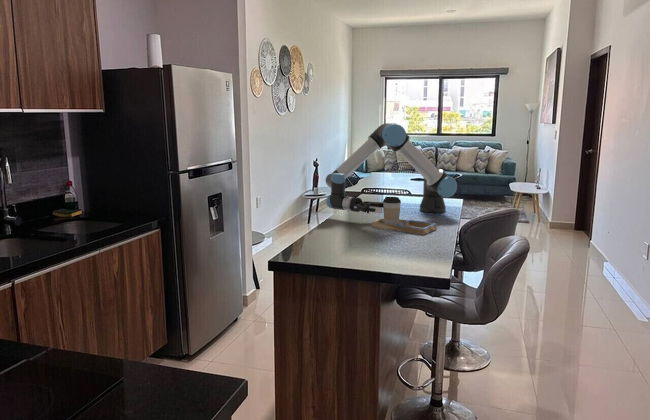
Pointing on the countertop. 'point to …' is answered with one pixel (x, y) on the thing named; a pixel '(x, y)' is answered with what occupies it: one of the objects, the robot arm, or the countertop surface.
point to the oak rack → (407, 226)
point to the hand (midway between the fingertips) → (388, 208)
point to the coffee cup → (391, 210)
